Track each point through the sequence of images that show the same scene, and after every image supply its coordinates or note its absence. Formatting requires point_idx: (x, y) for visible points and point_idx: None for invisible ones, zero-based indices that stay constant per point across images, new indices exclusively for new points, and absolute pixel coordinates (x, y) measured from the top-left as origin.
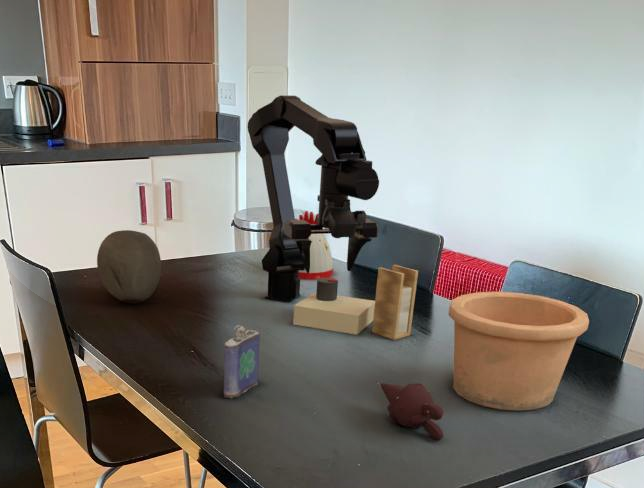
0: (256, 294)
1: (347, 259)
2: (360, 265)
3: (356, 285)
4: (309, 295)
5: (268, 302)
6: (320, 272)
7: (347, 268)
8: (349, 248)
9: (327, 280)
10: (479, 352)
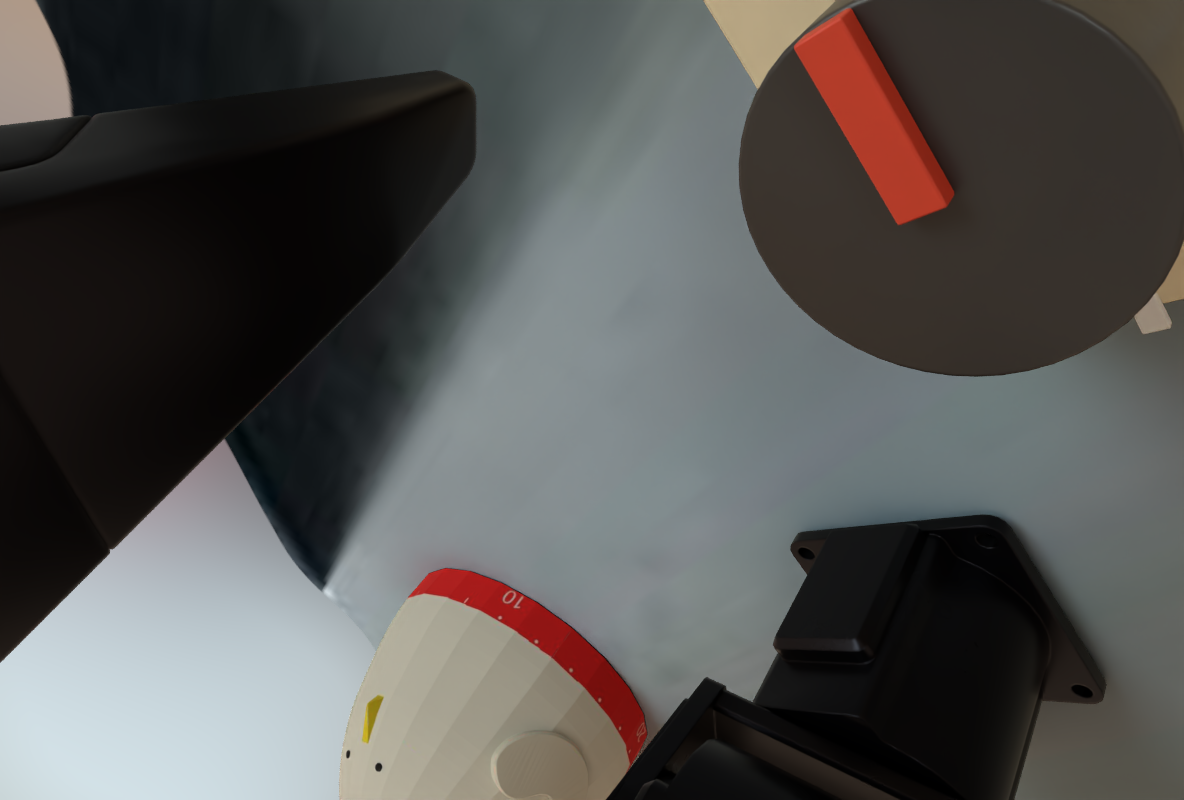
0: (1058, 750)
1: (343, 301)
2: (291, 546)
3: (377, 416)
4: (1158, 299)
5: (1168, 633)
6: (486, 613)
7: (455, 172)
8: (143, 432)
9: (955, 192)
10: None
